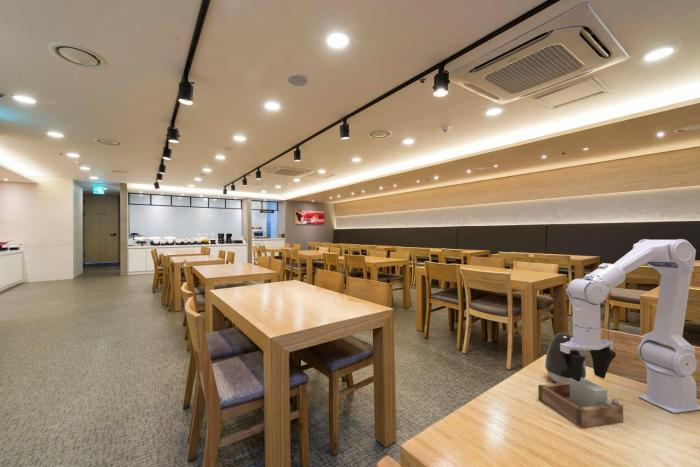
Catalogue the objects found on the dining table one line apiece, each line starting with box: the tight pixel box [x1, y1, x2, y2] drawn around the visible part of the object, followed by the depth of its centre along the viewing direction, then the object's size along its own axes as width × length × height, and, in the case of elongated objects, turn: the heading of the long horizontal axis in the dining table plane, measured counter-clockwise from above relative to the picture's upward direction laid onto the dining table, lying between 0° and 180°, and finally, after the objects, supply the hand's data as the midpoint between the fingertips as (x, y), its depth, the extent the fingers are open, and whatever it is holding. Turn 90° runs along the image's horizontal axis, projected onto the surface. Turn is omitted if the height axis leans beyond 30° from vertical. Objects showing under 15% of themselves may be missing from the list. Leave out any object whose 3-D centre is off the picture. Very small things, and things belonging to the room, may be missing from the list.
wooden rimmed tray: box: [537, 382, 624, 429], centre depth 76 cm, size 12×12×5 cm
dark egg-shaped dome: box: [544, 332, 587, 383], centre depth 91 cm, size 10×10×15 cm
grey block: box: [570, 377, 608, 407], centre depth 77 cm, size 4×7×6 cm, turn 10°
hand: (587, 378), depth 77 cm, fingers open, 7 cm apart
